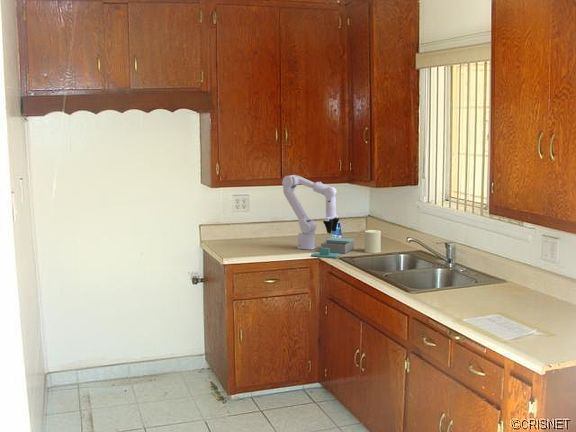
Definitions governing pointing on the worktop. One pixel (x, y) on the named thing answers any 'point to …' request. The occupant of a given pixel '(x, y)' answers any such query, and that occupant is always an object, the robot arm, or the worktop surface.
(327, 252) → the lid
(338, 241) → the tub
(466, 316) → the worktop surface
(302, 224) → the robot arm
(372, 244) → the can
